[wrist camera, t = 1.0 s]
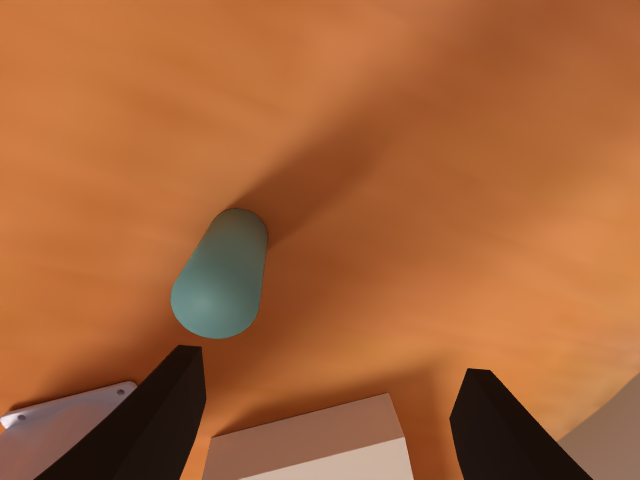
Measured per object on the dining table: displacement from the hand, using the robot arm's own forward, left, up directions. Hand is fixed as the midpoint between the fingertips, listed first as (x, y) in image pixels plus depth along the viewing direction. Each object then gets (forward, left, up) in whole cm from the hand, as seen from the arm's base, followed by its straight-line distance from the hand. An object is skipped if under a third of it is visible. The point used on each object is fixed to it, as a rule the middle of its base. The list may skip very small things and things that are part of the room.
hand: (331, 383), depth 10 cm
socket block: (-4, -22, -14) cm, 26 cm away
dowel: (-4, +1, -14) cm, 14 cm away
